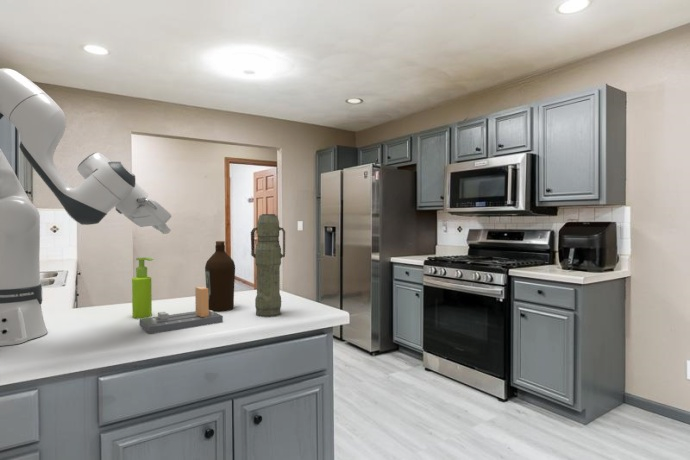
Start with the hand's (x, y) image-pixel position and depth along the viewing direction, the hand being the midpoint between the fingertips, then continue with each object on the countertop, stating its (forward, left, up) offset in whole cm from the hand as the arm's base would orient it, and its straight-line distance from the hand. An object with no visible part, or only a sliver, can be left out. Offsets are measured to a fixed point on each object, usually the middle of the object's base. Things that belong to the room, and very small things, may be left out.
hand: (167, 232), depth 129 cm
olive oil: (+22, +12, -29) cm, 39 cm away
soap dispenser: (-3, +17, -29) cm, 34 cm away
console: (+4, -1, -29) cm, 29 cm away
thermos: (+32, -6, -29) cm, 44 cm away
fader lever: (+10, -3, -27) cm, 29 cm away
